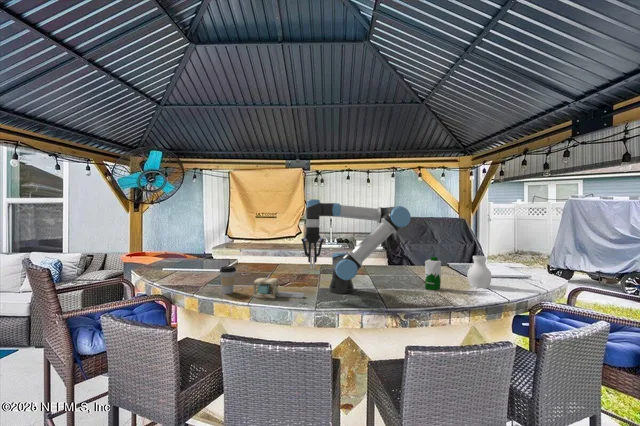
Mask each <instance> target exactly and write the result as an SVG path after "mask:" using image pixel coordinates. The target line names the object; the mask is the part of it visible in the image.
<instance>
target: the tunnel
mask: <svg viewBox="0 0 640 426" xmlns="http://www.w3.org/2000/svg"><path fill="white" fill-rule="evenodd" d="M260 284H269V294H258V293H257V287H258V286H259V285H260ZM271 291H273V294H270V292H271ZM275 291H279V278H278V277H277V278H272V277H258V278H256V279H255V280H254V281H253V298H258V299H259V298H261V299H275V298H276V296H275Z"/></svg>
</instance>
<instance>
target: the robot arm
mask: <svg viewBox="0 0 640 426" xmlns="http://www.w3.org/2000/svg"><path fill="white" fill-rule="evenodd" d="M305 209H306V210H305V211H306V214H305V215H306V219H305V221H306V222H305V224H306V225H305V226H306V229H305V236H304V237H303V238H301V242H302V245H303V250H304V251H303V252H304V255H305V257H306V256H307V259H308V260H307V262H308V263H309V269H310V270H312V269H313V270H315V269H316V264H315V263H318V262H317V261H318V257H320V255H321V252H322V245H323V243H324V241H325V238H323V237H321V235H320V221H321V220H320V217H336V218H345V219H353V220H354V219H356V220H366V221H375V222H376V223H377V224H378V223H379V224H378V225H377V226H376V227H374V229H372V231H371V232H370V233H369V234H368V235H367V236H366V237H365V238H364V239H362V241H360V243H358V244H357V245H356V246H355V248H353V250H351V251H346V252H345V253H344V252H341V253H340V252H338V253H336V252H335V253H332V257H331V259H332V263H331V264H332V271H331V272H332V273H331V280H330V284H329V287H328V289H329V292H331V293H333V294H339V295H340V294H351V293H353V292H354V291H355V288H354V283H353V280H352V279H354V278H355V277H356V276H357V274H358V271H359V270H360V269H361V268H362V267H363V262H364V261H365V260H366V259H367V258H368V257H370V255H371V254H373V252H374V251H375V250H376V249H378V247H380V245H381V244H383V243H384V242H385V241H386V240H387V238H389V237H390V236H391V235H392V234H396V233H398V232H399V230H401V228H404V227H406V226H408V225H409V224H410V222H411V213H410V210H409V209H408V208H407V207H404V206H402V205H401V206H400V205H397V206H388V207H380V206H379V207H377V208H374V207H365V206H364V207H363V206H355V205H345V204H340V203H337V202H334V203H333V202H331V203H330V202H325V203H324V202H321V201H320V199H307V201H306V208H305ZM306 241H307V242H308V247H307V243H306ZM317 242H319V247H318V248H317V246H318V245H317ZM312 244H313V252H314V253H313V254H314V255H313V256H312ZM307 248H308V249H307ZM317 249H318V251H317Z"/></svg>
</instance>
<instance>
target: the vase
mask: <svg viewBox="0 0 640 426" xmlns="http://www.w3.org/2000/svg"><path fill="white" fill-rule="evenodd" d="M472 261H473V263H472V265H471V266H470V267H469V269H468V270H467V280H468V286H469V285H470V286H473V287H477V288H476V289H479V288H488V289H490V286H491V282H492V272H491V271H490V269H489V268H488V267H487V266H486V261H487V256H485V255H472ZM470 286H469V287H470ZM473 287H472V288H473Z"/></svg>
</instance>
